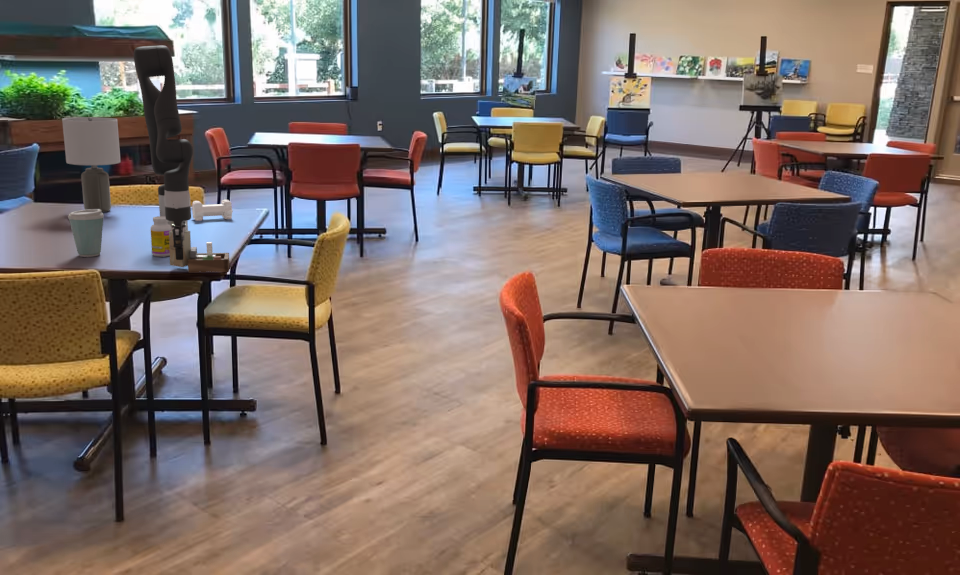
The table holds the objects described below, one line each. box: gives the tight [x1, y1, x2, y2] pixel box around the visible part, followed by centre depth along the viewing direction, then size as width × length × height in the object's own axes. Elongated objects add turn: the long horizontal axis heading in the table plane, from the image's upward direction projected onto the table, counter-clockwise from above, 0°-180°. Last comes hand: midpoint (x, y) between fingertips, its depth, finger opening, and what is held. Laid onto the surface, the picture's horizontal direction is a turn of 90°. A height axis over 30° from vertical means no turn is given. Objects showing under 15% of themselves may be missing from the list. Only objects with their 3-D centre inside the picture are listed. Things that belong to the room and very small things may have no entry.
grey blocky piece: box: [190, 241, 216, 259], centre depth 253 cm, size 6×7×8 cm
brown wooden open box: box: [187, 252, 230, 274], centre depth 254 cm, size 9×12×5 cm
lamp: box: [61, 116, 122, 214], centre depth 331 cm, size 20×20×39 cm
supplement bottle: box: [150, 215, 172, 258], centre depth 268 cm, size 7×7×13 cm
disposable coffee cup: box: [67, 209, 105, 258], centre depth 263 cm, size 11×11×15 cm
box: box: [169, 230, 192, 268], centre depth 251 cm, size 5×4×11 cm
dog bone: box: [191, 199, 234, 222], centre depth 330 cm, size 15×9×8 cm, turn 120°
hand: (180, 256), depth 252 cm, fingers closed on box, 6 cm apart
